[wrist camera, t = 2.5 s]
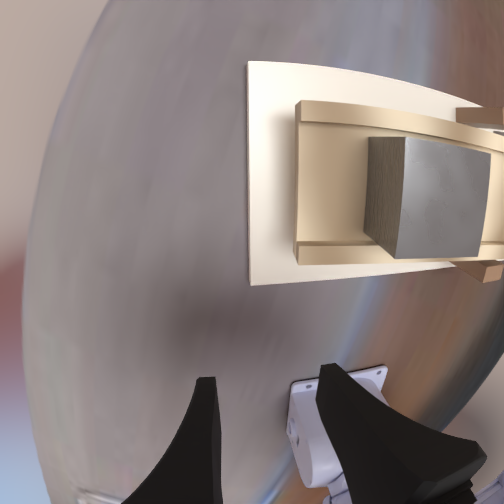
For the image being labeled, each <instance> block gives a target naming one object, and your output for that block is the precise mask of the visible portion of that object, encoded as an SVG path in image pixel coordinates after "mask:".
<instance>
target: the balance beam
mask: <svg viewBox="0 0 504 504" xmlns="http://www.w3.org/2000/svg"><path fill="white" fill-rule="evenodd" d="M368 137H411V138H417V139H423V140H429V141H435V142H440V143H446V144H451V145H456V146H460V147H465V148H470V149H474V150H478V151H482V152H486V153H490V154H491V167H490V180H489V190H488V199H487V207H486V215H485V221H484V227H483V233H482V239H481V244H480V249H479V254H478V257H460V258H424V259H394V258H393V257H392V256H391V255H389V254H388V253H387V252H386V251H385V250H384V249H383V248H381V247H380V246H379V245H378V244H377V243H376V242H374V241H373V240H372V239H371V238H370V237H369V236H367V235H366V234H365V233H364V232H363V227H364V216H365V203H366V187H367V167H368ZM293 253H294V256H295V258H296V261H297V264H298V265H341V264H381V263H416V262H446V261H472V260H497V259H504V132H500V131H493V133H492V132H489V131H485V130H482V129H479V128H475V127H471V126H468V125H464V124H460V123H456V122H452V121H448V120H444V119H440V118H435V117H431V116H426V115H421V114H416V113H411V112H405V111H399V110H393V109H387V108H381V107H373V106H366V105H358V104H349V103H339V102H328V101H314V100H300V101H299V102H298V103H297V104H296V105H295V193H294V232H293Z"/></svg>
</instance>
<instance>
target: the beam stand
mask: <svg viewBox="0 0 504 504" xmlns="http://www.w3.org/2000/svg"><path fill="white" fill-rule="evenodd" d="M246 70H247V171H248V251H249V281H250V285H251V286H253V285H267V284H281V283H295V282H307V281H319V280H331V279H342V278H353V277H364V276H374V275H384V274H394V273H403V272H412V271H421V270H430V269H438V268H447V267H455V266H457V267H458V268H460V269H462V270H463V271H465V272H467V273H468V274H470V275H471V276H473V277H474V278H476V279H478V280H479V281H481V282H482V283H485V282H490V281H495V280H499V279H500V278H501V274H502V270H503V266H504V264H502V263H500V262H499V261H500V260H504V259H497V260H472V261H446V262H416V263H381V264H341V265H298V264H297V261H296V258H295V256H294V253H293V232H294V193H295V105H296V104H297V103H298V102H299V101H300V100H314V101H328V102H339V103H349V104H358V105H366V106H373V107H381V108H387V109H393V110H399V111H405V112H411V113H416V114H421V115H426V116H431V117H435V118H440V119H444V120H448V121H452V122H456V123H460V124H464V125H468V126H471V127H475V128H479V129H482V130H485V131H489V132H492V133H493V131H500V132H504V108H503V107H482V106H479V105H477V104H474V103H472V102H469V101H466V100H463V99H461V98H458V97H455V96H452V95H449V94H446V93H443V92H440V91H436V90H433V89H430V88H426V87H423V86H419V85H415V84H412V83H408V82H404V81H400V80H396V79H391V78H387V77H382V76H378V75H373V74H368V73H362V72H357V71H351V70H345V69H338V68H331V67H324V66H316V65H306V64H296V63H283V62H265V61H248V63H247V65H246Z"/></svg>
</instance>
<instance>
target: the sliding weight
mask: <svg viewBox="0 0 504 504" xmlns="http://www.w3.org/2000/svg"><path fill="white" fill-rule="evenodd" d="M490 167H491V154H490V153H486V152H482V151H478V150H474V149H470V148H465V147H460V146H456V145H451V144H446V143H440V142H435V141H429V140H423V139H417V138H411V137H368V167H367V187H366V203H365V216H364V227H363V232H364V233H365V234H366V235H367V236H369V237H370V238H371V239H372V240H373V241H374V242H376V243H377V244H378V245H379V246H380V247H381V248H383V249H384V250H385V251H386V252H387V253H388V254H389V255H391V256H392V257H393V258H394V259H424V258H460V257H478V254H479V249H480V244H481V239H482V233H483V227H484V221H485V215H486V207H487V199H488V190H489V180H490Z"/></svg>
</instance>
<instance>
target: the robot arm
mask: <svg viewBox="0 0 504 504" xmlns="http://www.w3.org/2000/svg"><path fill="white" fill-rule="evenodd" d="M387 371H388V368H387V367H386V366H385V365H384V366H379V367H375V368H370V369H366V370H361V371H356V372H351V373H346V372H345V371H344V370H343V369H342V368H341V367H339V366H338V365H337V364H336V363H332V364H326V365H321V369H320V375H319V379H312V380H306V381H299V382H295V383H293V384H292V386H291V394H290V403H289V412H288V421H287V429H286V433H287V436H289V439H290V442H291V446H292V449H293V453H294V456H295V460H296V463H297V466H298V470H299V473H300V476H301V479H302V481H303V483H304V485H305V486H306V487H307V488H315V487H328V489H329V492H330V494H331V495H329V496H326V497H325V498H324V501H323V504H504V471H503V472H501V474H500V475H499V476H498V477H497V478H496V479H495V480H494V481H492V482H491V483H489V484H488V485H487V486H485V487H484V488H483V489H481V490H479V491H478V492H476V493H475V494H473V492H472V491H471V489H470V488H471V487H472V486H473V484H472V482H471V480H470V479H471V478H472V476H473V475H474V474H475V473H476V472H477V471H478V470H479V469H480V468H481V467H482V465H483V464H484V463H485V461H486V459H487V455H486V454H485V452H484V451H483V450H482V448H481V447H480V446H479V444H478V443H477V442H476V441H472V440H467V439H462V438H458V437H454V436H450V435H447V434H444V433H441V432H438V431H436V430H433V429H430V428H428V427H426V426H424V425H421V424H419V423H417V422H415V421H413V420H411V419H409V418H407V417H405V416H404V415H402V414H400V413H398V412H397V411H395V410H393V409H392V408H390V406H389V404H388V403H387V401H386V400H385V398H384V397H383V395H382V393H381V392H380V391H381V389H382V386H383V383H384V380H385V377H386V374H387ZM307 385H308V386H307ZM121 504H223V498H222V490H221V423H220V412H219V404H218V396H217V387H216V379H215V377H199V378H198V379H197V380H196V386H195V389H194V393H193V396H192V399H191V402H190V404H189V407H188V409H187V412H186V414H185V417H184V419H183V421H182V423H181V425H180V427H179V429H178V431H177V433H176V435H175V437H174V439H173V440H172V442H171V444H170V446H169V447H168V449H167V450H166V452H165V454H164V455H163V457H162V458H161V459H160V461H159V462H158V464H157V465H156V466H155V468H154V469H153V470H152V472H151V473H150V474H149V475H148V477H147V478H146V479H145V480H144V481H143V482H142V483H141V484H140V486H139V487H138V488H137V489H136V490H135V491H134V492H133V493H132V494H131V495H130V496H129V497H128V498H127V499H126V500H125V501H124V502H122V503H121Z"/></svg>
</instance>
